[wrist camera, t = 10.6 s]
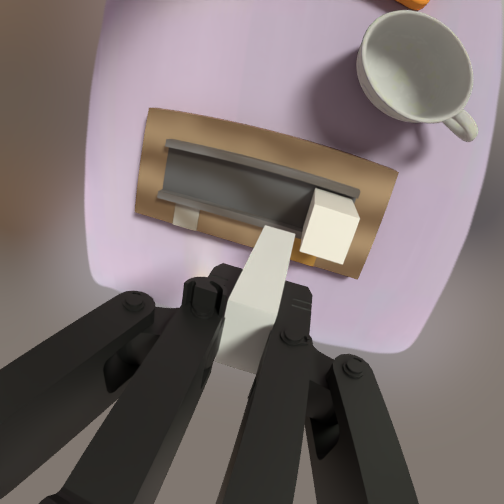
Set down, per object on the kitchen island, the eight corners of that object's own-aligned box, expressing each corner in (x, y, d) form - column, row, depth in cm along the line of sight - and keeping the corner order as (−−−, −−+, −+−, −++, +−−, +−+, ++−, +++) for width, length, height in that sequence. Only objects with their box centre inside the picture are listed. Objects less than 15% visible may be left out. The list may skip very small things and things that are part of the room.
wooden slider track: (157, 107, 33) (143, 107, 30) (394, 169, 31) (401, 174, 28) (142, 207, 39) (129, 215, 36) (356, 271, 37) (358, 284, 34)
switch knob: (315, 187, 31) (314, 204, 25) (351, 199, 31) (360, 218, 25) (303, 226, 33) (299, 251, 27) (338, 237, 33) (342, 264, 27)
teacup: (331, 58, 28) (335, 39, 20) (406, 16, 23) (428, -8, 16) (403, 164, 31) (426, 177, 23) (473, 121, 26) (509, 124, 19)
